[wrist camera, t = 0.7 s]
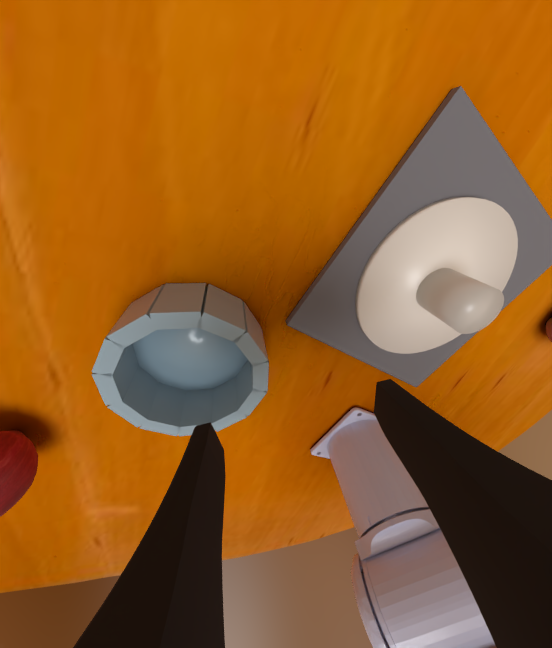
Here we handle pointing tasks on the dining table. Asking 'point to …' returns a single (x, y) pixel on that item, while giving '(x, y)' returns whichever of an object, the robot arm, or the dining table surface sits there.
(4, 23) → the dining table surface
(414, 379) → the mat
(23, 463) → the onion
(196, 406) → the bowl
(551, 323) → the apple
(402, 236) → the lid
